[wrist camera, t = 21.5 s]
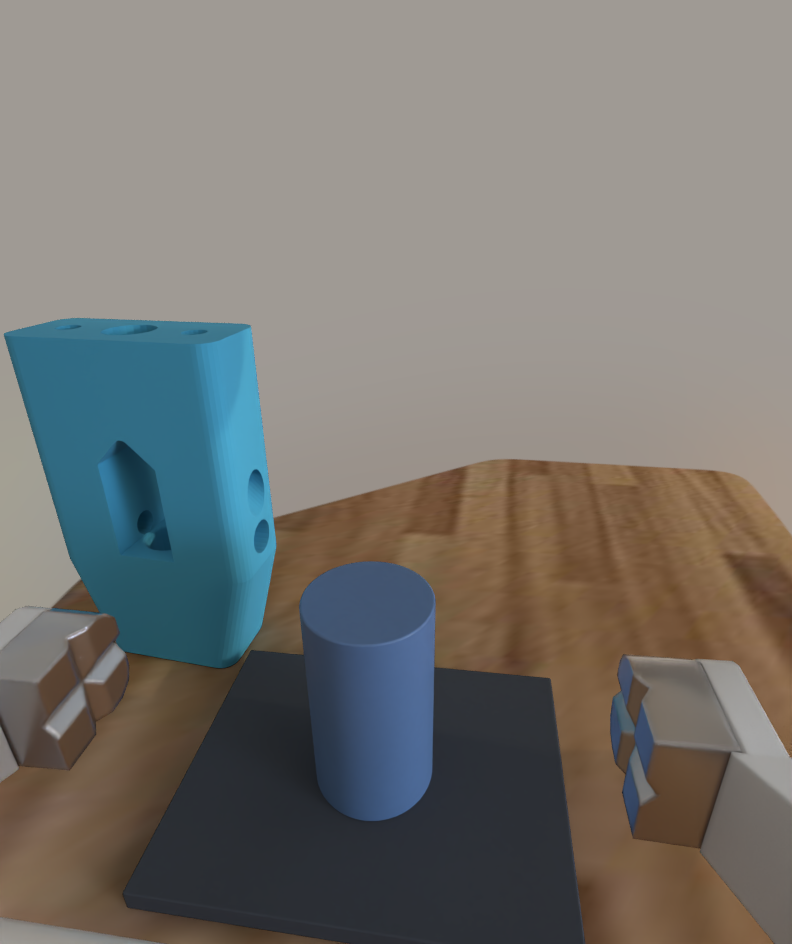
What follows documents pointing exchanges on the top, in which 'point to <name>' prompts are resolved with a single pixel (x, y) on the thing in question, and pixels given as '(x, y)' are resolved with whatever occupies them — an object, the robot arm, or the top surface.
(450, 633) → the top surface
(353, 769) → the cylinder block
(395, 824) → the mat
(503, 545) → the top surface
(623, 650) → the top surface
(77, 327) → the block
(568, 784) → the top surface
